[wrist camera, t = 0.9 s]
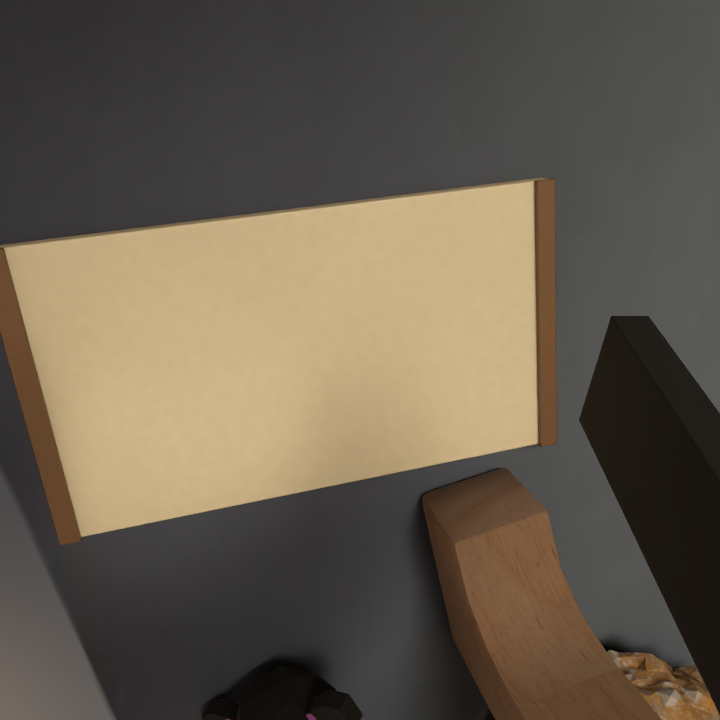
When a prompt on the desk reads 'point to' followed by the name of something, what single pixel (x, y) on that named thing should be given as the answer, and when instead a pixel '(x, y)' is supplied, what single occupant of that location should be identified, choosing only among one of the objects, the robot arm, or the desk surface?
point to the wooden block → (520, 608)
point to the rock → (667, 686)
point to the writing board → (281, 349)
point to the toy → (287, 699)
